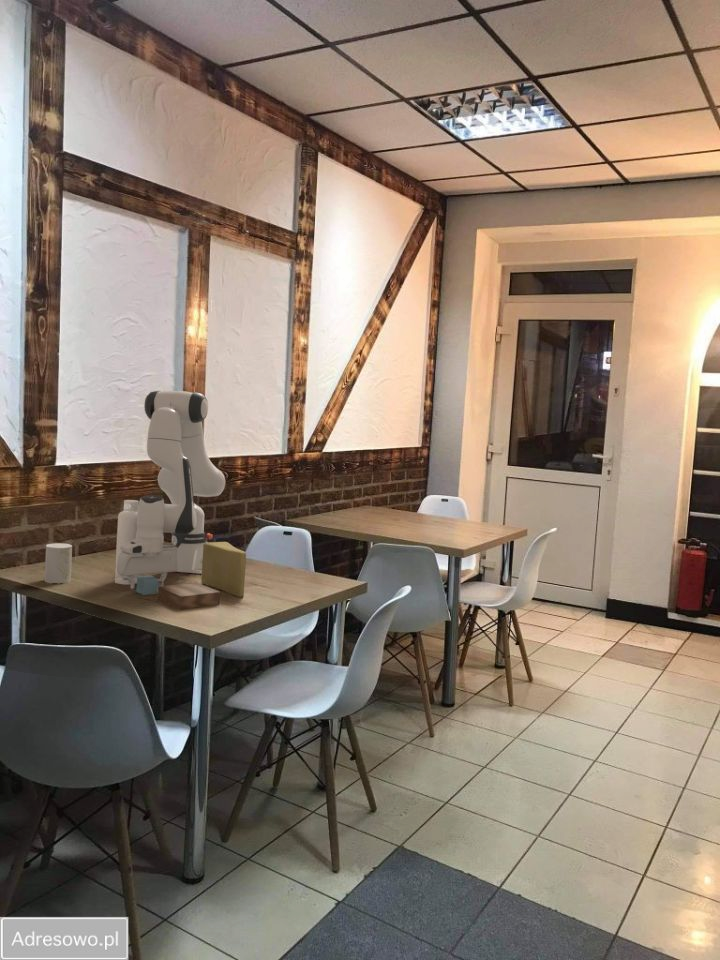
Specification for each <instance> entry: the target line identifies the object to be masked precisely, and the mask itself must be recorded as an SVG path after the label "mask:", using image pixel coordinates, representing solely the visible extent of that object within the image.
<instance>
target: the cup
mask: <svg viewBox="0 0 720 960" xmlns="http://www.w3.org/2000/svg"><path fill="white" fill-rule="evenodd" d="M72 553H73V545H72V544H70V543H57V542H55V543H47V544H46V545H45V559H44V560H45V561H44V562H45V563H44V582H45V583H46V582H47V584H52V583H58V584H59V583H63V584H67V582H68V583H70V582H71V581H72V579H71V578H72V577H71V576H72V575H71V574H72V560H73V559H72V558H73V557H72V555H73V554H72ZM58 584H57V585H58ZM59 585H60V584H59Z"/></svg>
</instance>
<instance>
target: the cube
mask: <svg viewBox="0 0 720 960" xmlns="http://www.w3.org/2000/svg"><path fill="white" fill-rule="evenodd" d="M158 580H159V578H157V577H155V576H153V575H139V577H137V588H136V590H135V591H136V592H137V593H139V594H141V595H142V596H145V595H154V594H158V587H159V586H158Z"/></svg>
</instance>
